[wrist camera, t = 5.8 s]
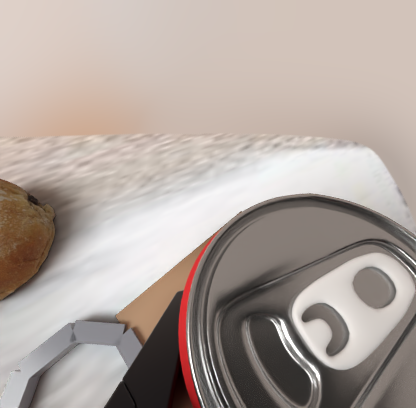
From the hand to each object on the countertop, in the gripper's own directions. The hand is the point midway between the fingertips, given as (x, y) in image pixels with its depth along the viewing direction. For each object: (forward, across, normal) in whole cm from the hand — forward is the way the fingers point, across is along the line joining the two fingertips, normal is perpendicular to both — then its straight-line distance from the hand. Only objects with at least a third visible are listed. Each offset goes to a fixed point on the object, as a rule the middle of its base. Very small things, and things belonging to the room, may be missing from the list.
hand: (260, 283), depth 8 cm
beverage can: (+5, 0, +6) cm, 8 cm away
